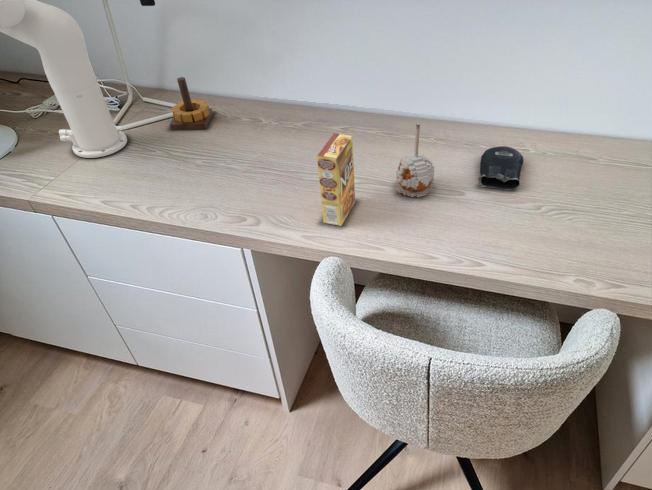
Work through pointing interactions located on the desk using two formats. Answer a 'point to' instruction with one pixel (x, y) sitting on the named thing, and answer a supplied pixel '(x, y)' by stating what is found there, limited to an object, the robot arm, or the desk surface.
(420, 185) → the caramel apple
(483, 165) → the electronic device
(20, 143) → the desk surface
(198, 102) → the ring
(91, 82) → the robot arm
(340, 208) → the candy box
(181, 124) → the stand
